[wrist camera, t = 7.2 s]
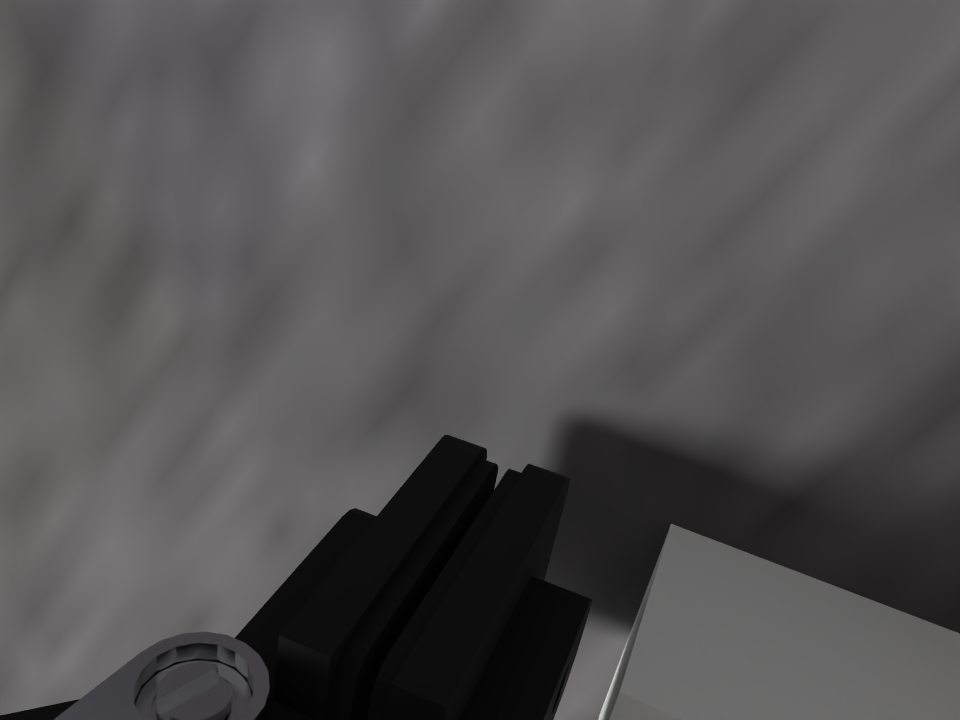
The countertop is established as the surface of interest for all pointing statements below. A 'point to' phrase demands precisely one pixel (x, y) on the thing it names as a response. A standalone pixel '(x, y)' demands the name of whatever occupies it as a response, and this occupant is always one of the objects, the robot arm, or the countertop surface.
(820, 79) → the countertop surface
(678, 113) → the countertop surface
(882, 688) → the white angled block
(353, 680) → the robot arm
